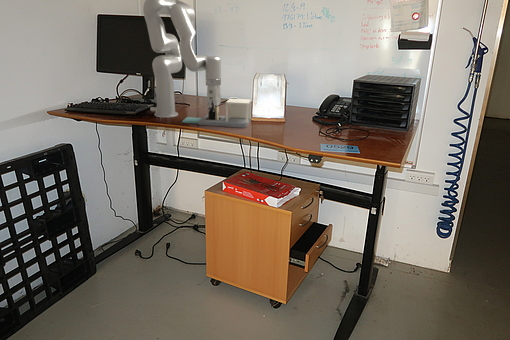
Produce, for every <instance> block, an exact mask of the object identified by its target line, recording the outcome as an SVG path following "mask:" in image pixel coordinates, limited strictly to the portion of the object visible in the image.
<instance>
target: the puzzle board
mask: <svg viewBox="0 0 510 340" xmlns="http://www.w3.org/2000/svg"><path fill="white" fill-rule="evenodd" d="M201 118H202V119H200V120H199V124H198V126H211V127H226V128H240V129H241V128H242V129H246V128H247V127H248V126H249V124H250V122H251V119H248V123H246V118H230V115H228V122H226V115H219V121H218V120H208V114H206V115H204V116H203V117H201Z"/></svg>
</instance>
